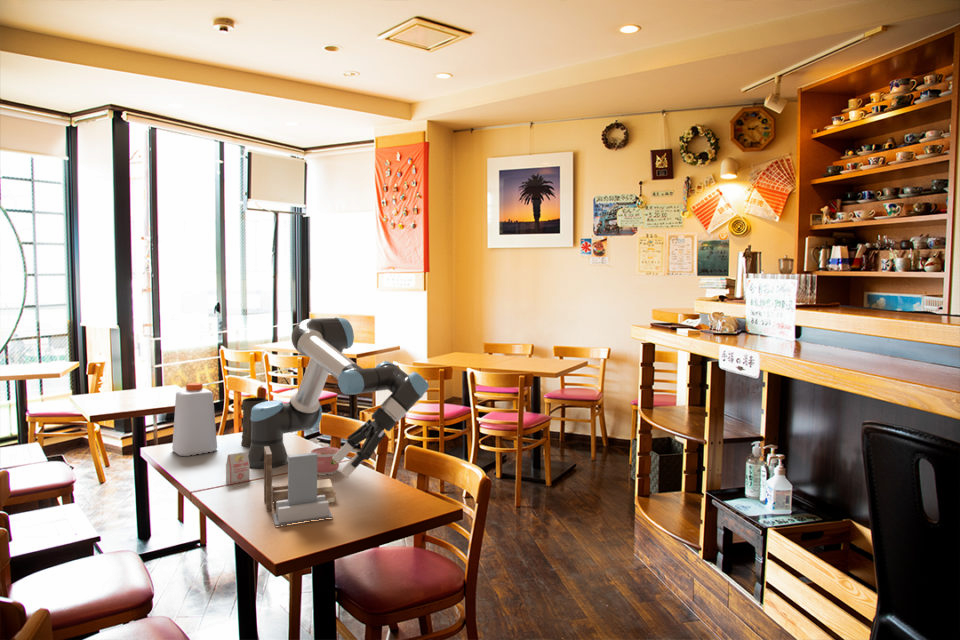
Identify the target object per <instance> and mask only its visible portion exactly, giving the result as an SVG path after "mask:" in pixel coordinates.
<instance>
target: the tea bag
mask: <svg viewBox="0 0 960 640" xmlns="http://www.w3.org/2000/svg"><path fill="white" fill-rule="evenodd" d="M248 453H249V451H243V452H242V451H241V452H236V453H230V454H227V458H226V463H225V482H226V483H227V484H228V483H229V484H228V485H234V483H235V484H240V483H244V481H245V482H248V481H250V477H251V476H250V475H251V473H250V470H251V469H250V468H251V467H250V463H249V458H248ZM239 482H240V483H239Z"/></svg>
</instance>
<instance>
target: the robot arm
mask: <svg viewBox="0 0 960 640" xmlns="http://www.w3.org/2000/svg"><path fill="white" fill-rule="evenodd" d="M290 338H291V343H292V346H293V348H294V350H296V351H297V352H298V353H299V354H301V355H302V356H305V357H309V358H310V359H309V361H308V364H307V366H306V368H305V370H304V371H305V372H304V373H303V377H302V379H301V382H300V384H299V387H298V390H297V392H295V393H294V394H292V395H291V397H290V400H289V401H288V402H286V403H284V402H283V401H282V400H268V401H267V400H266V402H262V403H259V404H257V405H255V406H254V407H253V408H252V410H251V418H250V419H251V446H250V447H249V450H248V458H249V463H250V468H252V469H253V468H255V469H264V447H265V446H269V448H270V450H271V453H272V468H276V467H280V466H281V467H282V466H283V465H285V464H288V455H289V454H288V453H287V449H286V447H285V444H284V434H289V433H296V432H300V431H308V430H310V429H311V430H312V429H315V428H316V427H317V426H318V425H320V423H321V420H322V417H323V414H322V413H323V409H322V405H321V403H320V401H319V398H320V397H321V394H322V391H323V389H324V387H325V384H326V381H327V380H328V377H329V375H331V376H333V377H334V378H335V379H336V380H337V385H338V388H339V389H340V392H341V393H342V394H343V395H355V396H356V395H359V394H365V393H371V392H379V391H380V392H381V391H387V390H388V391H389V392H391V394H390V395H389V396H388V397H387V398H386V399H384V401H383V402H382V403H381V404H380V406H381V407H377V409H376V410H374V412H373V413H372V414H371V417H372V418H373V421H372V420H371V419H368V420H367V421H366V422H365V423H364V424H362V425H361V426H360V427H359V428H357V429H356V430H355V431H354V432H352V433H351V434H350V435H348V436H347V438H346V439H347V440H346V442H345V444H344V445H342V447H341V448H339V449H340V450H339V451H338V452H337V453H336V454H335V455H334V456H333V457H332V459H333V460H335V461H336V462H337V463H338V464H339V465H340V463H341V462H342V461H343V460H344V459H345V458H346V457H347V456H348V455H349V453H350V452H351V451H352V450H353V449H355V448H356V445H358V444H359V443H361V442H363V441H364V442H363V445H362V446H361V447H360V450H359V451H357V452H356V453H355V455H353V457H352V458H350V460H349V461H348V462H347V463H346V464H345V465H344V467H342V469H341V470H340V472H341V473H342V474H343V475H345V477H347V478H349V477H350V475H352V473H354V471H355V470H357V469H356V468H358V466H360V465H361V464H362V462H363V461H365V460H366V461H369V460H370V458H371V457H372V455H373V453H374V452H375V451H376V449H377V448H378V446H379V444H380V443H381V441H382V439H384V438H385V436H387V433H386V432H391V431H392V429H393V428H394V427H395V426H396V425H397V422H399V421H400V420H401V419H402V418H405V417H406V414H407V413H408V412H409V410H411V408H412V407H413V406H414V405H415V404H416V403H417V402H418V401H419V400H420V399H422V398H423V396H424V395H425V393H426V392H427V391H428V390H429V388H430V385H429V382H427V380H426V379H425V378H424V377H423V376H422V375H421V374H419V373H418V372H416V371H412V372H411V373H409V374H407V373H406V372H405V371H403V370H402V369H401V368H399V367H398V366H397V365H396V364H394V363H392V362H391V361H389V360H388V361H387V360H385V361H382V362H380V363H378V364H377V365H376V366H375V367H369V368H368V367H367V368H363V367H361V366H360V365H359V364H357V363H356V362H354V361H353V360H352V359H351V358H349V357H348V356H347V355H345V354H343V352H344V350H347V349H350V348H351V347H352V346H353V345H354V344H353V343H354V338H355V335H354V329H353V327H352V324H351V323H350V321H349V320H348V319H347V318H345V317H329V318H327V317H325V318H324V317H322V318H320V317H319V318H307V319H303V320H301V321H299V322H298V323H297V324H296V325H295V327H294V328H293V330H292V333H291V337H290ZM384 430H385V431H386V432H385V431H384Z"/></svg>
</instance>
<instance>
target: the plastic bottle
mask: <svg viewBox="0 0 960 640" xmlns="http://www.w3.org/2000/svg"><path fill="white" fill-rule="evenodd" d="M216 429H217V428H216V418H215V405H214V393H213V392H212V391H211V390H209V389H207V388H204V387H203V383H201V382H190V383H187V384H186V385H185V389H181V390H178V391H177V392H176V393H175V405H174V420H173V433H172V445H171V446H172V451H173V452H174V453H176V454H177V455H178V456H180V457H191V456H190V455H192V456H197V455H196V454H199V455H203V454H202V453H205V454H209V453H208V452H210V453H213V451H214V452H215V451H216V450H217V449H218V440H217V430H216Z"/></svg>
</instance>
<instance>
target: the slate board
mask: <svg viewBox="0 0 960 640" xmlns="http://www.w3.org/2000/svg"><path fill="white" fill-rule="evenodd" d="M287 455H288V462H287V484H288V506H293V505H300V504H307V503H315V502H317V480H318V475H317V453H316V452H315V453H311V452H306V453H296V454H287Z"/></svg>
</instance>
